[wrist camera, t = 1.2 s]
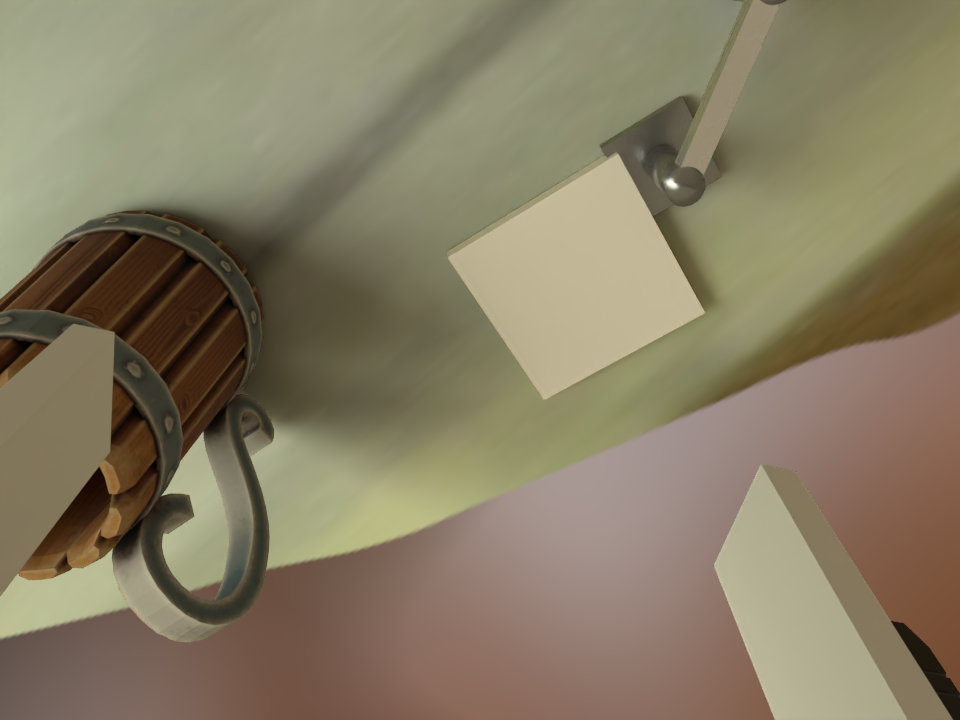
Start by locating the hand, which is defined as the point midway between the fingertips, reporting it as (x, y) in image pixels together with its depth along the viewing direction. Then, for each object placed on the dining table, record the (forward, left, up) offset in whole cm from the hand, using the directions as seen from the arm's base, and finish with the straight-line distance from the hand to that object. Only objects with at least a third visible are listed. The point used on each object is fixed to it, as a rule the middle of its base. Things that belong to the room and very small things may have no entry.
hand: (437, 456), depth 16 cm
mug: (0, -16, -23) cm, 28 cm away
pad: (+7, +2, -23) cm, 24 cm away
